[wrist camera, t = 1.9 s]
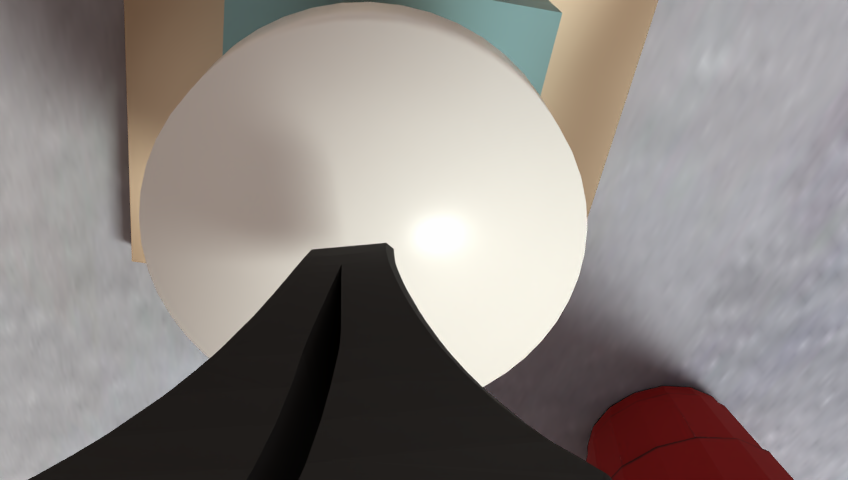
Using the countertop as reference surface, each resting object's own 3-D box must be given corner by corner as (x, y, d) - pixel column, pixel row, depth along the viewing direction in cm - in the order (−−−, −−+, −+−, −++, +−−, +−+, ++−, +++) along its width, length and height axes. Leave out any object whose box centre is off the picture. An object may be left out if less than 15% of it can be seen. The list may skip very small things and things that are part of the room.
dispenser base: (667, -64, 18) (709, -53, 16) (550, 302, 24) (568, 352, 22) (130, -171, 17) (84, -176, 14) (140, 248, 22) (108, 296, 20)
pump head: (586, 17, 15) (648, 68, 12) (500, 321, 19) (526, 433, 15) (202, -53, 14) (132, -21, 11) (195, 283, 18) (143, 392, 15)
